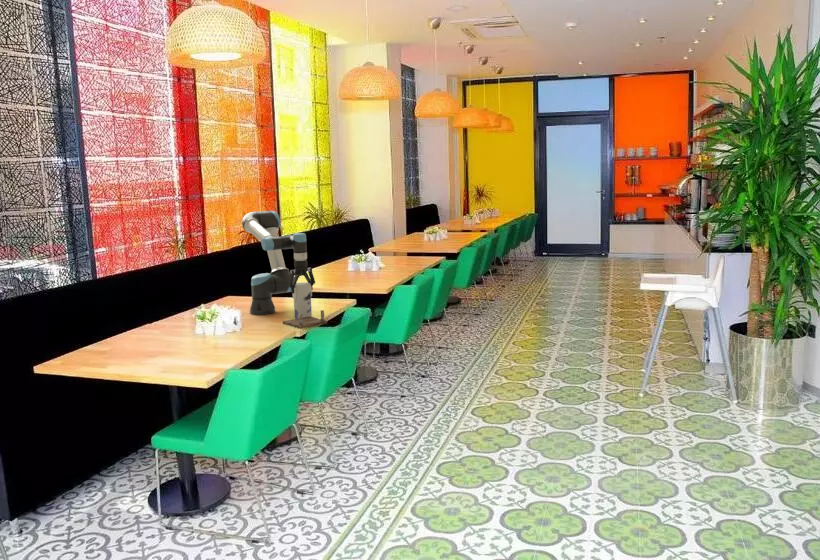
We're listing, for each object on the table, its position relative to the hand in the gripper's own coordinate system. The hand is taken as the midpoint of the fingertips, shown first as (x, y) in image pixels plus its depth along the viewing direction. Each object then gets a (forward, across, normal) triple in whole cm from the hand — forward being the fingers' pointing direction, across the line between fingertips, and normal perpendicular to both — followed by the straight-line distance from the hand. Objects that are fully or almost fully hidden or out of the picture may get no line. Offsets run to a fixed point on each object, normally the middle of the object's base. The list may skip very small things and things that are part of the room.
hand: (302, 297), depth 429 cm
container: (+12, 0, 0) cm, 12 cm away
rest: (+12, -9, -16) cm, 22 cm away
